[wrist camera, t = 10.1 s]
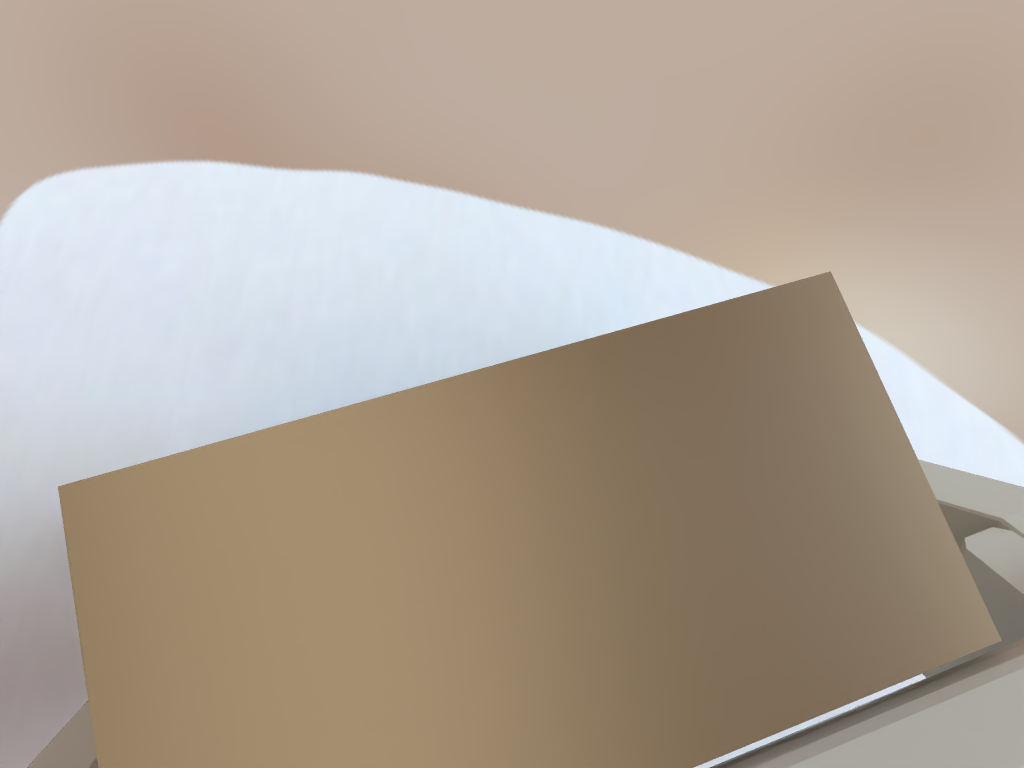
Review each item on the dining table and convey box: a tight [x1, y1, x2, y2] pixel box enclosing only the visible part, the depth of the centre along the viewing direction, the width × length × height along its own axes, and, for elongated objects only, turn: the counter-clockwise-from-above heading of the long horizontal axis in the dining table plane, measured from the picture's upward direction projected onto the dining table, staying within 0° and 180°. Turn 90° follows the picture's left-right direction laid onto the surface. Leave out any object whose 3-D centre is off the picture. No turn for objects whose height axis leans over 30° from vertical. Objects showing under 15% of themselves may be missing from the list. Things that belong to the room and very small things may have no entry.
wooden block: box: [58, 272, 1002, 768], centre depth 9 cm, size 6×3×11 cm, turn 107°
